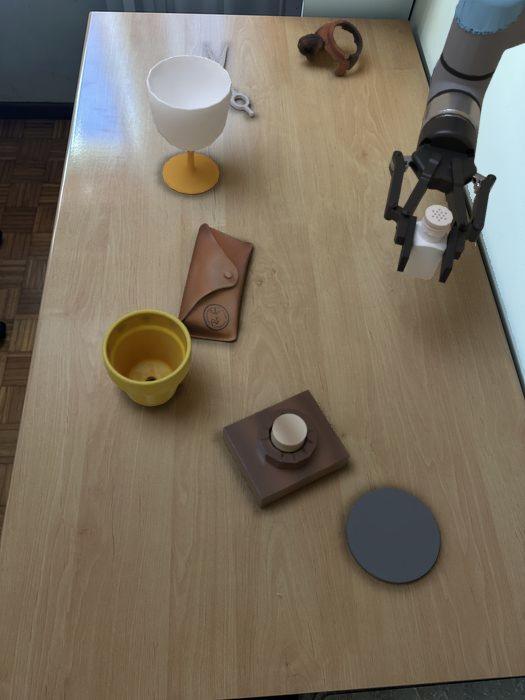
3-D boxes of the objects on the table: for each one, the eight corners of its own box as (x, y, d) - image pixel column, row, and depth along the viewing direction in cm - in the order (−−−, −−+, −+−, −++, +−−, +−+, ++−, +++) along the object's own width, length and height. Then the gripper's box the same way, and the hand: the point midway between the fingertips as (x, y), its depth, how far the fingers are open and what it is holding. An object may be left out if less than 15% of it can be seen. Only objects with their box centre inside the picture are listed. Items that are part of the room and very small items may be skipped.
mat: (439, 498, 80) (440, 496, 80) (437, 591, 75) (439, 590, 74) (349, 482, 81) (350, 480, 80) (341, 574, 75) (342, 573, 74)
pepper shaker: (431, 282, 82) (456, 231, 74) (399, 276, 83) (421, 224, 74) (432, 258, 85) (457, 205, 76) (401, 252, 85) (423, 199, 77)
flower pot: (196, 415, 84) (196, 378, 75) (113, 425, 82) (103, 388, 74) (188, 346, 89) (186, 304, 80) (109, 354, 87) (99, 311, 79)
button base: (305, 399, 86) (310, 381, 82) (345, 465, 82) (353, 449, 77) (222, 437, 82) (223, 420, 78) (259, 508, 78) (263, 494, 74)
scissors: (190, 113, 111) (187, 38, 121) (191, 116, 112) (187, 42, 122) (253, 113, 113) (245, 40, 123) (253, 117, 113) (245, 43, 123)
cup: (212, 210, 102) (214, 119, 87) (141, 187, 103) (131, 95, 88) (238, 160, 108) (244, 67, 93) (171, 139, 109) (166, 45, 94)
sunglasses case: (239, 342, 89) (215, 314, 84) (195, 350, 92) (169, 323, 87) (255, 240, 98) (234, 210, 94) (214, 250, 101) (191, 222, 97)
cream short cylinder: (294, 415, 80) (296, 408, 78) (310, 443, 78) (313, 436, 76) (264, 429, 78) (266, 421, 77) (281, 457, 77) (283, 451, 75)
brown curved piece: (333, 40, 127) (359, 14, 120) (346, 87, 127) (373, 64, 120) (281, 37, 121) (305, 10, 114) (294, 86, 121) (319, 62, 114)
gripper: (501, 174, 90) (486, 308, 78) (378, 143, 92) (344, 270, 79) (524, 130, 84) (512, 268, 72) (391, 98, 85) (356, 228, 73)
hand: (424, 269), depth 76 cm, fingers closed on pepper shaker, 4 cm apart
